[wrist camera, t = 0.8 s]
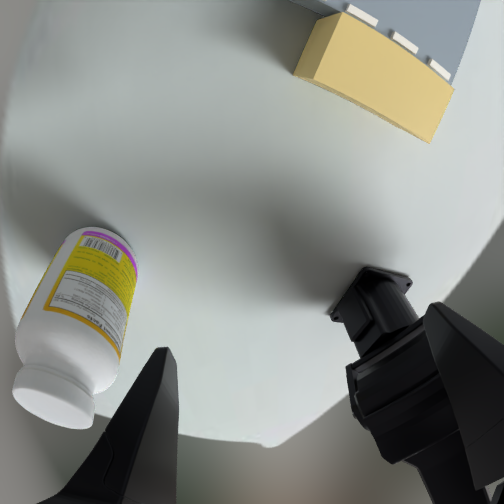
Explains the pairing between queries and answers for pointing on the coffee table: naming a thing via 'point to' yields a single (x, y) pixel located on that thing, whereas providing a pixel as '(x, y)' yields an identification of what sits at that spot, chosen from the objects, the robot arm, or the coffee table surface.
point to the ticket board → (413, 26)
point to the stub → (374, 74)
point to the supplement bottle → (75, 327)
